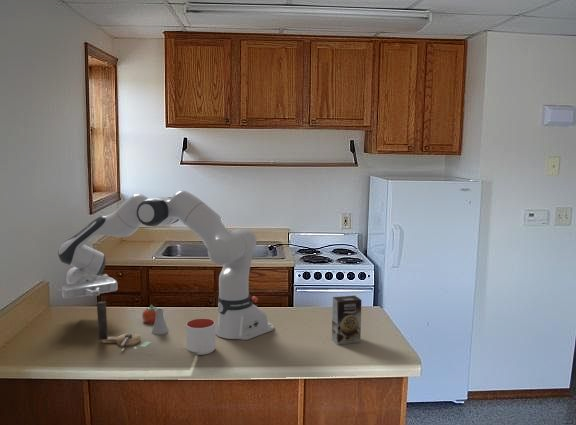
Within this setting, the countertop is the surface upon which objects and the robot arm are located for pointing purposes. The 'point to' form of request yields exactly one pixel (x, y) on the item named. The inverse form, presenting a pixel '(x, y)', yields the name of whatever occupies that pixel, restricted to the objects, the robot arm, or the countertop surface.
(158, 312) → the flask
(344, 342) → the coffee box
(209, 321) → the cup
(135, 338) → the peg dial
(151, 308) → the tomato
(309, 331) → the countertop surface
